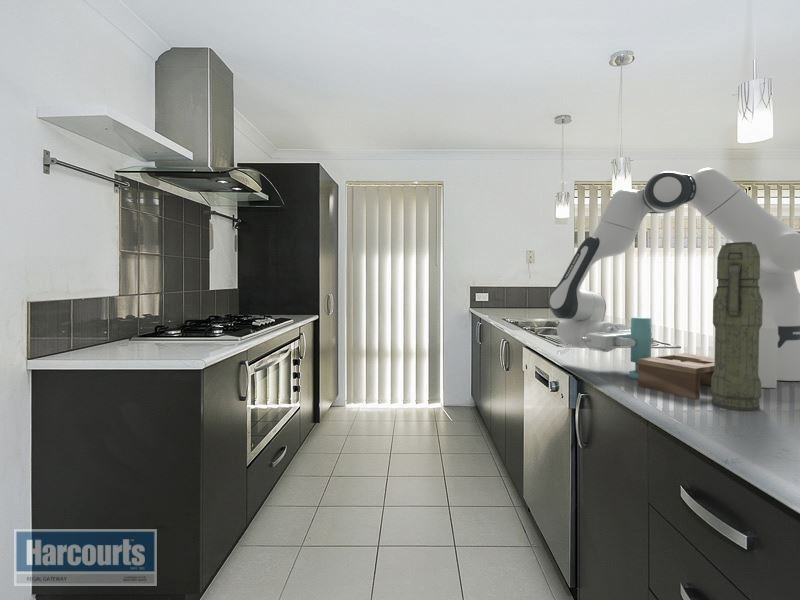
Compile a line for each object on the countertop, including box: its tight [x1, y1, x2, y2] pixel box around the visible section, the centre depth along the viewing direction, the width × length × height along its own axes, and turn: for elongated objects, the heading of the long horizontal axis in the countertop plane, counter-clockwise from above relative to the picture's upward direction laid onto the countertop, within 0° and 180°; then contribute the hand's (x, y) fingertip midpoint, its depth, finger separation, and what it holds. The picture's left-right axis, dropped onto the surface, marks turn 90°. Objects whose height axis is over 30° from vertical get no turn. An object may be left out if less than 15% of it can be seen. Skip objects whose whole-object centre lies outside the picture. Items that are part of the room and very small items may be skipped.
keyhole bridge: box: [637, 352, 715, 400], centre depth 123 cm, size 18×15×7 cm
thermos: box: [710, 242, 763, 412], centre depth 106 cm, size 9×12×35 cm
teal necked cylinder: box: [628, 316, 652, 381], centre depth 136 cm, size 6×6×16 cm
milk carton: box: [758, 311, 778, 389], centre depth 125 cm, size 7×7×19 cm
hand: (643, 342), depth 135 cm, fingers closed on teal necked cylinder, 5 cm apart
